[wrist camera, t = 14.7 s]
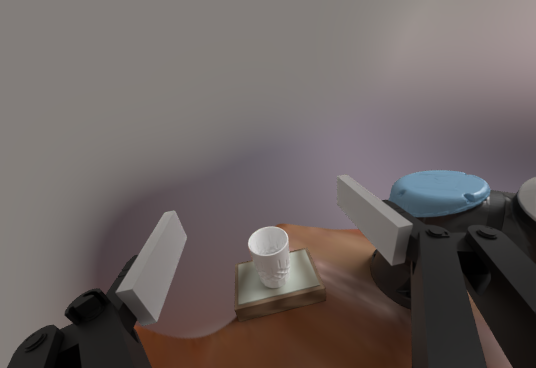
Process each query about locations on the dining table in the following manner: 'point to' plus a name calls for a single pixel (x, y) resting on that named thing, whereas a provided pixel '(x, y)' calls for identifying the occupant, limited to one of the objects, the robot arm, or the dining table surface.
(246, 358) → the dining table surface
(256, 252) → the white cup
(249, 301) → the board
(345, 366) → the dining table surface
